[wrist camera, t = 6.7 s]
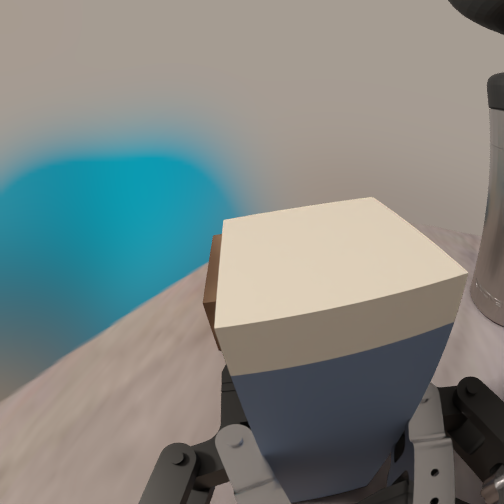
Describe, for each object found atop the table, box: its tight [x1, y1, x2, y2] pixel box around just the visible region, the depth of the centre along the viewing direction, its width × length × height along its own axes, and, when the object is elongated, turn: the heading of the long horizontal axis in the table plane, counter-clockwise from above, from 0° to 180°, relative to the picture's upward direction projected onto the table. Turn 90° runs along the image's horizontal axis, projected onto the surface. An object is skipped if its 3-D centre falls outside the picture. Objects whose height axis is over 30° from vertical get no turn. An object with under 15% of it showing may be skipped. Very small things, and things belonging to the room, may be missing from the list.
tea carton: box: [214, 197, 468, 503], centre depth 9 cm, size 5×5×14 cm
